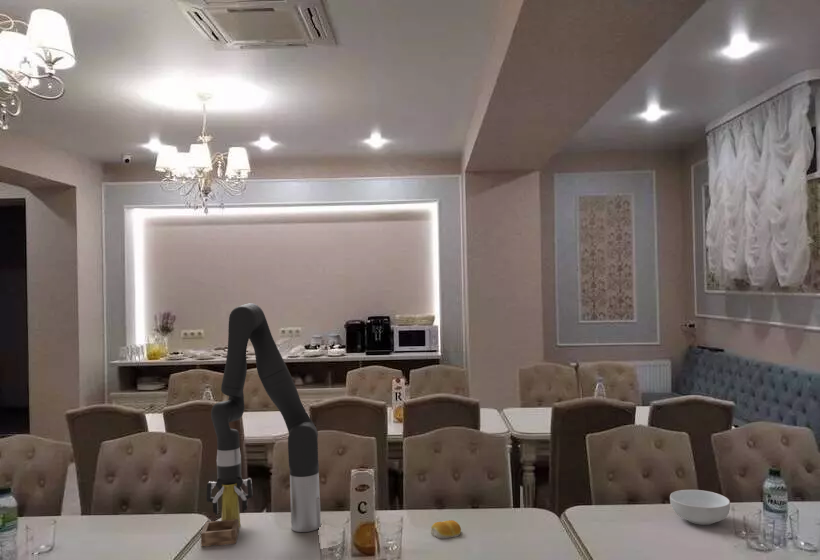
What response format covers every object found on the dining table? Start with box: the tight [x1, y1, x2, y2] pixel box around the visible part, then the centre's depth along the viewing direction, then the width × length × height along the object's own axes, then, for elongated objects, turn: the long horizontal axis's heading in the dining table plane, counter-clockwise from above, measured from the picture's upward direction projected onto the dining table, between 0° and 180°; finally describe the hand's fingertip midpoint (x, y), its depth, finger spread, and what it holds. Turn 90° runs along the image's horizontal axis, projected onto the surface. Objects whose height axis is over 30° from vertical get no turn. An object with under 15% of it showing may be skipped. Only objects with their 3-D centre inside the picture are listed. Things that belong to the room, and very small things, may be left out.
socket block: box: [200, 519, 240, 548], centre depth 196 cm, size 10×10×4 cm
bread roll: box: [430, 519, 462, 539], centre depth 194 cm, size 8×9×4 cm
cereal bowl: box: [669, 489, 731, 526], centre depth 197 cm, size 17×17×7 cm
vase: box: [220, 483, 241, 528], centre depth 206 cm, size 6×6×14 cm
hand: (230, 512), depth 206 cm, fingers open, 8 cm apart
